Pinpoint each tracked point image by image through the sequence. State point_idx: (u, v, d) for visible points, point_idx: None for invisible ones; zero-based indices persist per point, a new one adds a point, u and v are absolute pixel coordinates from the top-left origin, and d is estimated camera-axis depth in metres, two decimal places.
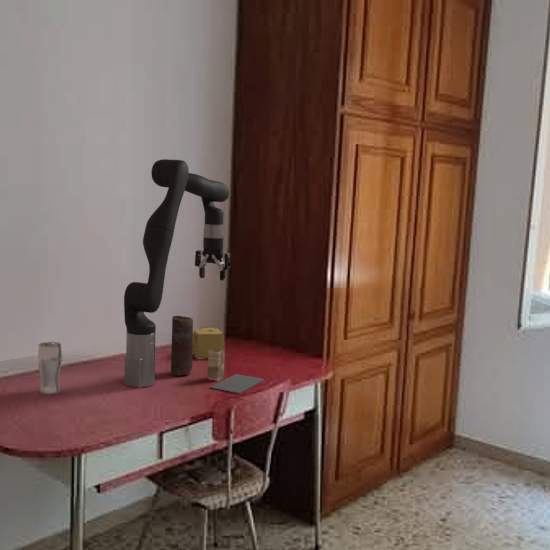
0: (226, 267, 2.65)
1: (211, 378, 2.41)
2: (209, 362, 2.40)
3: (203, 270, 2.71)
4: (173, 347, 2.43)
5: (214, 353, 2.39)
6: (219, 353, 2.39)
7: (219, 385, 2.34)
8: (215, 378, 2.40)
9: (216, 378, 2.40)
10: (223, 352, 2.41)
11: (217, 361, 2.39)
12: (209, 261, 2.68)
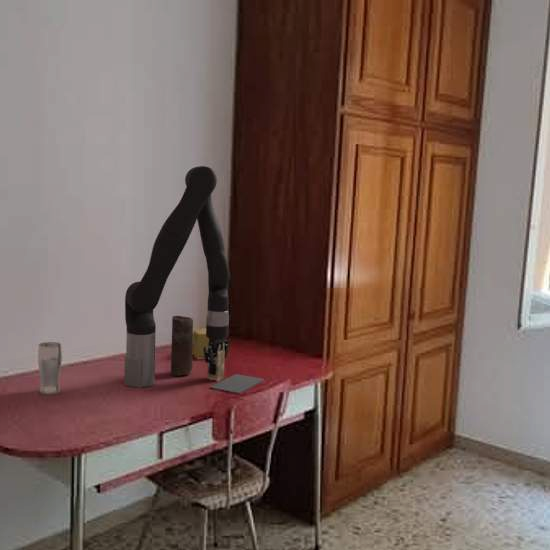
0: (226, 355, 2.45)
1: (211, 378, 2.41)
2: None
3: None
4: (173, 347, 2.43)
5: (214, 353, 2.39)
6: (219, 353, 2.39)
7: (219, 385, 2.34)
8: (215, 378, 2.40)
9: (216, 378, 2.40)
10: (223, 352, 2.41)
11: (217, 361, 2.39)
12: None
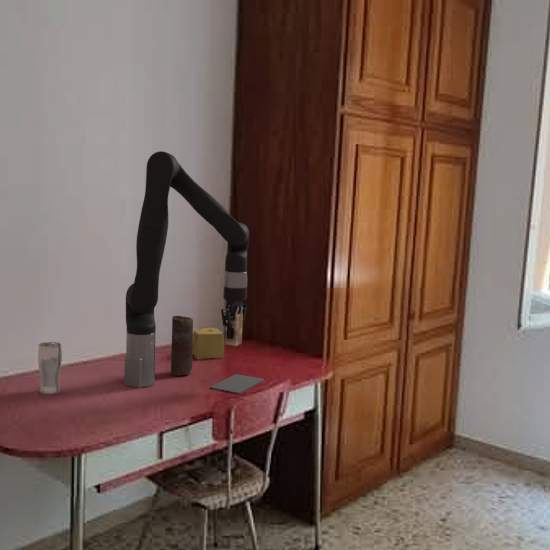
0: (244, 319, 2.35)
1: (229, 343, 2.30)
2: None
3: None
4: (173, 347, 2.43)
5: (232, 316, 2.29)
6: (237, 316, 2.29)
7: (219, 385, 2.34)
8: (233, 342, 2.30)
9: (234, 343, 2.30)
10: (241, 316, 2.31)
11: (235, 325, 2.29)
12: None
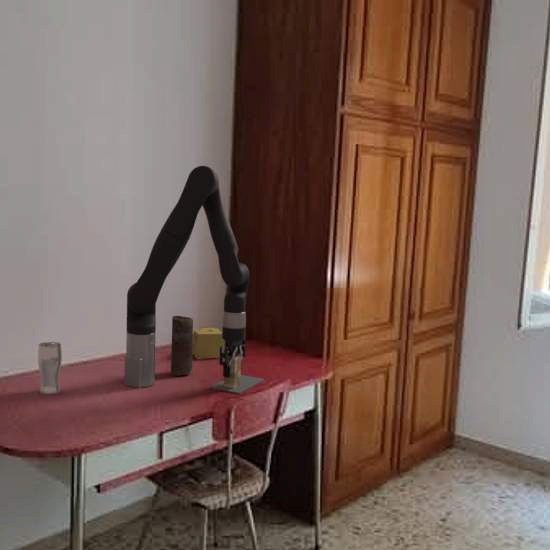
0: (245, 355, 2.38)
1: (227, 385, 2.32)
2: None
3: None
4: (173, 347, 2.43)
5: None
6: (236, 359, 2.31)
7: (219, 385, 2.34)
8: (231, 385, 2.32)
9: (233, 385, 2.31)
10: (240, 358, 2.33)
11: (234, 367, 2.31)
12: (235, 354, 2.31)
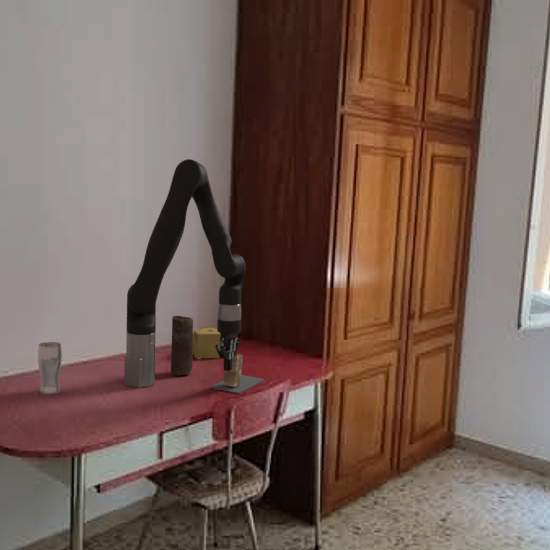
0: (235, 353, 2.31)
1: (227, 383, 2.32)
2: None
3: None
4: (173, 347, 2.43)
5: None
6: (237, 357, 2.32)
7: (219, 385, 2.34)
8: (232, 383, 2.32)
9: (233, 384, 2.32)
10: (241, 357, 2.34)
11: (235, 365, 2.31)
12: (232, 343, 2.29)
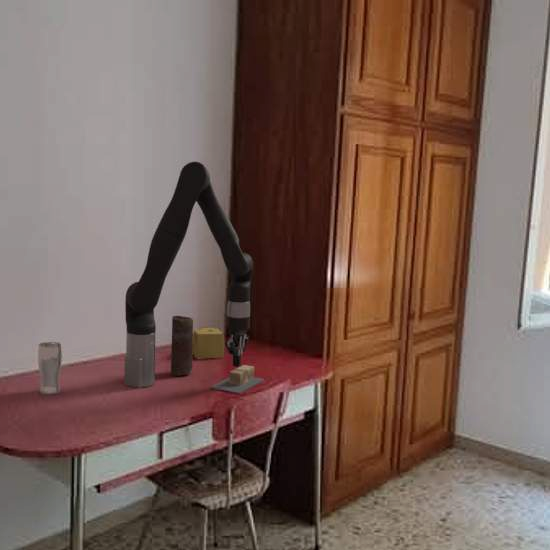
0: (244, 349, 2.37)
1: (234, 372, 2.36)
2: (239, 367, 2.41)
3: None
4: (173, 347, 2.43)
5: (249, 366, 2.44)
6: (253, 368, 2.43)
7: (219, 385, 2.34)
8: (239, 372, 2.36)
9: (240, 372, 2.35)
10: (253, 376, 2.43)
11: (249, 368, 2.41)
12: None
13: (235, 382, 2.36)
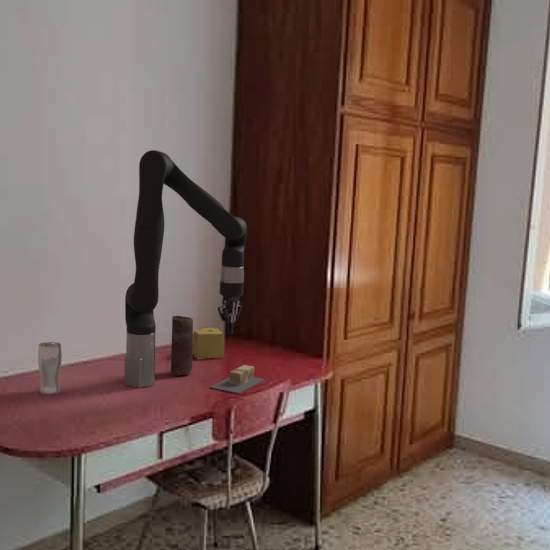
0: (237, 316, 2.30)
1: (234, 372, 2.36)
2: (239, 367, 2.41)
3: None
4: (173, 347, 2.43)
5: (249, 366, 2.44)
6: (253, 368, 2.43)
7: (219, 385, 2.34)
8: (239, 372, 2.36)
9: (240, 372, 2.35)
10: (253, 376, 2.43)
11: (249, 368, 2.41)
12: (234, 307, 2.28)
13: (235, 382, 2.36)
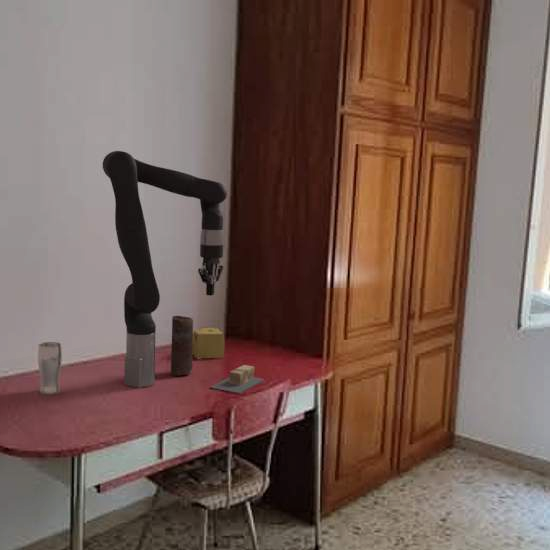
0: (217, 278, 2.38)
1: (234, 372, 2.36)
2: (239, 367, 2.41)
3: None
4: (173, 347, 2.43)
5: (249, 366, 2.44)
6: (253, 368, 2.43)
7: (219, 385, 2.34)
8: (239, 372, 2.36)
9: (240, 372, 2.35)
10: (253, 376, 2.43)
11: (249, 368, 2.41)
12: None
13: (235, 382, 2.36)
